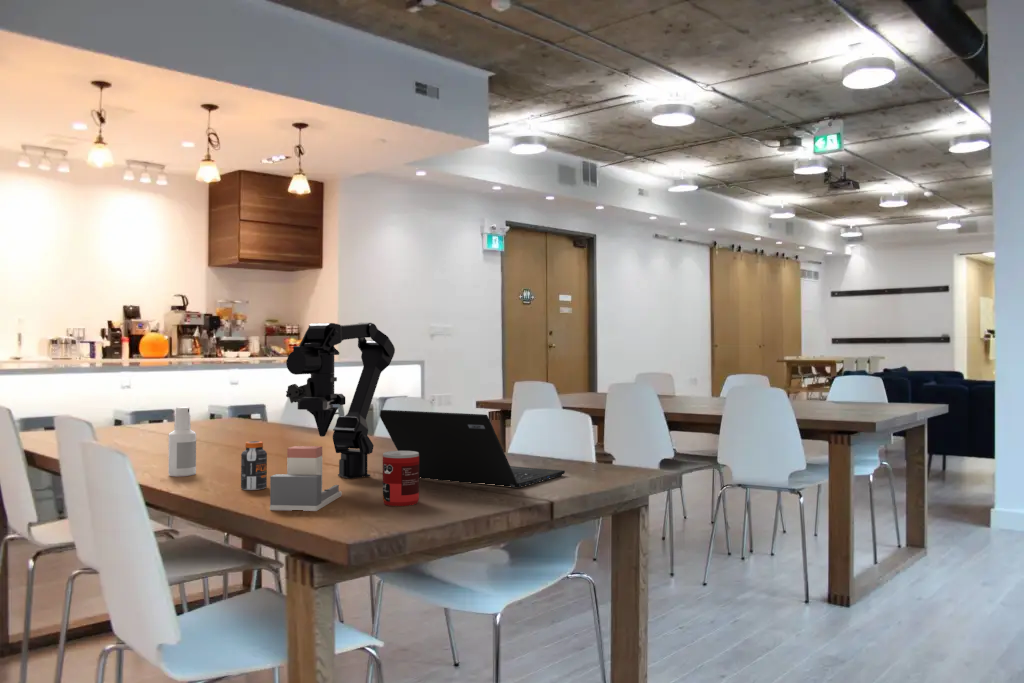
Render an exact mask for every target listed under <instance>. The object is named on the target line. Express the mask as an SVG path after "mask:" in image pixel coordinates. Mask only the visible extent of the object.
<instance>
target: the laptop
mask: <svg viewBox="0 0 1024 683" xmlns="http://www.w3.org/2000/svg"><path fill="white" fill-rule="evenodd" d="M379 418H380V420H381V422H382V424H383V425H384V427H385V429H386V431H387V433H388V434H389V435H388V436H389V437H390V439H391V440H392V441H391V442H393V444H394V447H395V448H396V449H397V450H396V451H415V452H418V453H419V479H425V478H430V479H429V480H434V479H438V480H437V481H443V480H450V481H449V482H452V481H459V482H458V483H461V482H471V483H470V484H472V483H485V484H495V485H504V486H511V487H510V488H512V487H520V488H522V487H521V486H524V487H526V486H525V485H527V486H530V485H529V484H531V485H533V484H532V483H534V484H537V483H536V482H538V483H540V482H539V481H541V482H543V481H542V480H545V481H547V480H546V479H548V480H550V479H549V478H552V477H555V478H557V477H556V476H558V477H561V476H563V475H564V474H565V472H566V471H565V470H564V469H563V470H562V469H551V468H536V467H524V466H513V465H512V466H511V465H510V463H509V460H508V458H507V456H506V454H505V451H504V449H503V446H502V444H501V443H500V440H499V437H498V436H497V434H496V431H495V429H494V427H493V424H492V422H491V420H490V418H489V416H488V414H484V413H483V414H482V413H481V414H480V413H459V412H439V411H438V412H436V411H435V412H434V411H418V410H417V411H416V410H415V411H413V410H400V409H399V410H396V409H395V410H392V409H380V412H379ZM562 474H563V475H562ZM560 475H561V476H560ZM420 477H421V478H420ZM552 479H553V478H552Z"/></svg>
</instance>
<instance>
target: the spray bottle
mask: <svg viewBox="0 0 1024 683" xmlns="http://www.w3.org/2000/svg"><path fill="white" fill-rule="evenodd" d="M191 425H192V424H191V413H190V407H189V406H180V407H175V413H174V427H173V430H172V431H171V432H169V433H168V466H167V467H168V473H167V474H168V475H169V476H170V477H177V478H179V477H190V476H194V475H196V474H197V433H196V432H195V430H192V429H191V427H192V426H191Z"/></svg>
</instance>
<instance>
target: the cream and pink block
mask: <svg viewBox="0 0 1024 683" xmlns="http://www.w3.org/2000/svg"><path fill="white" fill-rule="evenodd" d="M286 450H287V451H286V452H287V453H286V455H287V456H286V457H287V459H286V460H287V461H286V465H287V467H286V468H287V469H286V474H297V475H321V492H322V491H323V446H322V445H321V446H319V445H318V446H316V445H315V446H312V445H310V446H309V445H294V446H290V447H287V449H286Z"/></svg>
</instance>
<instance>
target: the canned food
mask: <svg viewBox="0 0 1024 683" xmlns="http://www.w3.org/2000/svg"><path fill="white" fill-rule="evenodd" d="M419 500H420V478H419V453H418V452H415V451H398V450H390V451H389V450H388V451H385V452H383V453H382V501H383V504H384V505H385V506H391V507H409V505H410V506H413V505H414V504H415V505H417V504H418V503H419ZM415 505H414V506H415Z"/></svg>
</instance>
